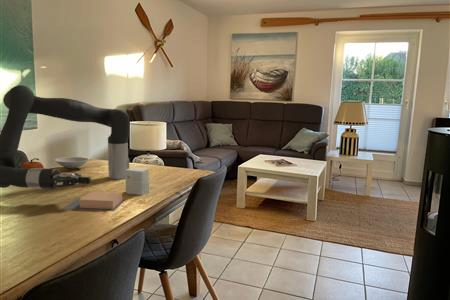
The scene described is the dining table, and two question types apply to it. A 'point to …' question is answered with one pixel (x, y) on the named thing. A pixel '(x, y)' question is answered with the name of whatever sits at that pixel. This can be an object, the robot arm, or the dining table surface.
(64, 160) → the dish
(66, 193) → the dining table surface
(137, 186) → the small box
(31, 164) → the fruit
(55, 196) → the dining table surface
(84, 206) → the pink rectangular block
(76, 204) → the mat
